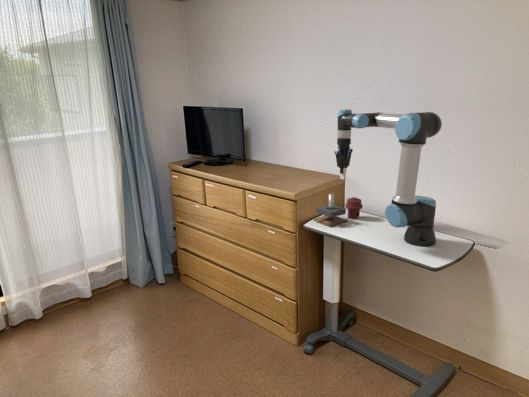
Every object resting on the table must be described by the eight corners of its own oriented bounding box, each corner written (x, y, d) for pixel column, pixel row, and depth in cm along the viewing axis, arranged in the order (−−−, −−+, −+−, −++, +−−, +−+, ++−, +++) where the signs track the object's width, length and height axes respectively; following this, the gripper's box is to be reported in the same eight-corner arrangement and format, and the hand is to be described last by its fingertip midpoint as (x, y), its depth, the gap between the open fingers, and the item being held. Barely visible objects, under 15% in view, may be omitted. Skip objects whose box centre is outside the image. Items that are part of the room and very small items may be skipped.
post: (334, 219, 235) (335, 194, 231) (330, 220, 234) (331, 195, 230) (330, 218, 238) (331, 193, 234) (326, 219, 236) (327, 194, 232)
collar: (345, 213, 233) (345, 208, 233) (330, 217, 227) (330, 212, 226) (330, 208, 243) (331, 204, 242) (316, 212, 236) (316, 207, 235)
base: (347, 222, 235) (347, 220, 234) (330, 227, 227) (330, 224, 226) (330, 216, 246) (330, 214, 245) (313, 220, 238) (313, 218, 237)
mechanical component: (342, 218, 242) (349, 214, 249) (357, 221, 236) (364, 217, 244) (342, 198, 238) (350, 195, 246) (358, 201, 233) (365, 197, 240)
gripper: (346, 136, 233) (345, 176, 239) (331, 138, 225) (330, 179, 231) (357, 137, 227) (355, 178, 233) (341, 139, 220) (339, 181, 225)
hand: (342, 178), depth 232 cm, fingers closed
